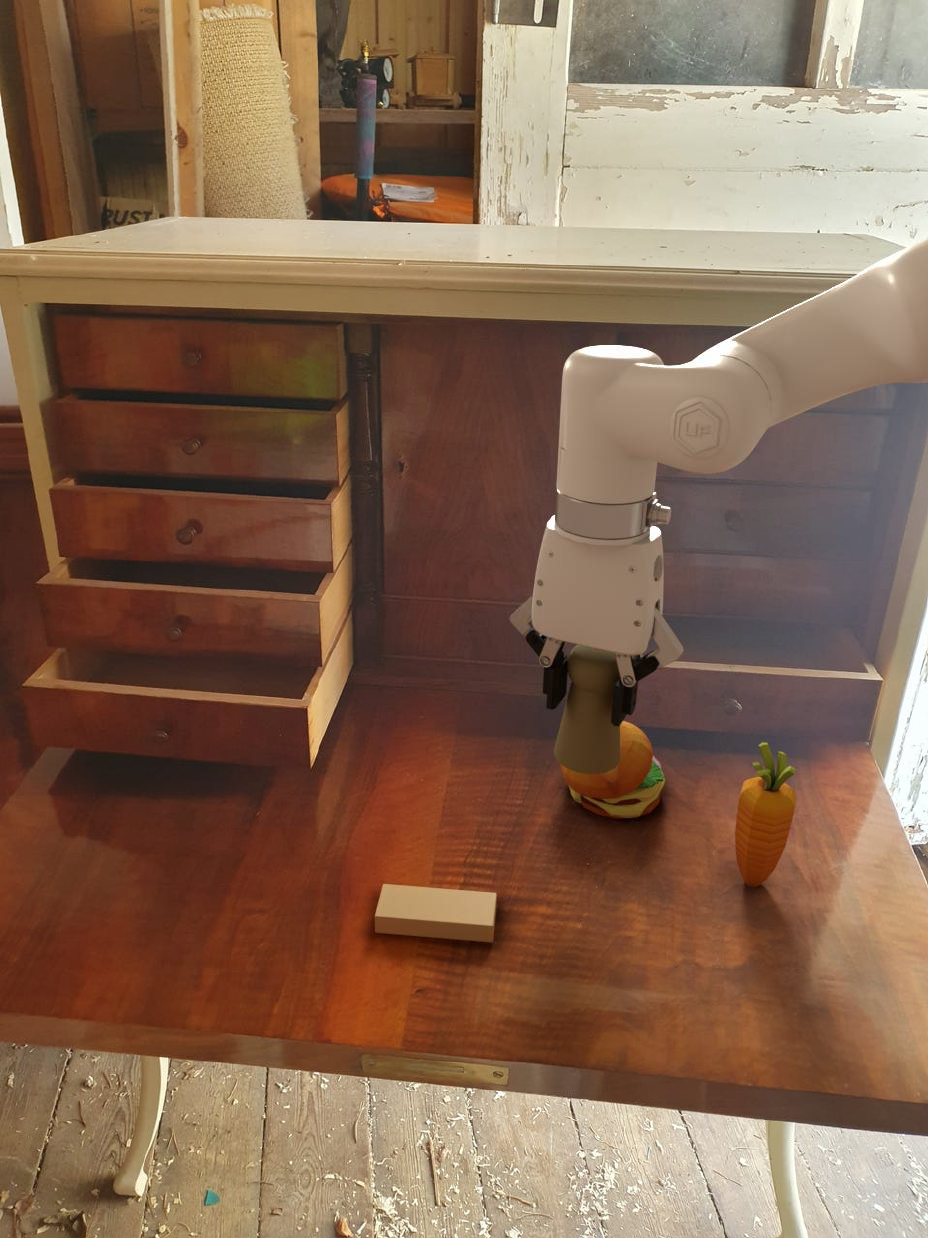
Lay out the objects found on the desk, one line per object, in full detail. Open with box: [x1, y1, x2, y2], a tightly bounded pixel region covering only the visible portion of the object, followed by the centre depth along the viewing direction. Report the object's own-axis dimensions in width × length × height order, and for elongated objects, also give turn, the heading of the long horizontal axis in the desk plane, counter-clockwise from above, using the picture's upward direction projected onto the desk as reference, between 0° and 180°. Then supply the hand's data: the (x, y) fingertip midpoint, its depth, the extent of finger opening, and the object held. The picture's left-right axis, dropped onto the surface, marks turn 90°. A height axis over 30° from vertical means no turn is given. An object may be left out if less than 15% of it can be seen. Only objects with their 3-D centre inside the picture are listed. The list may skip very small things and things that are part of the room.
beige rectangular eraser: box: [374, 883, 498, 943], centre depth 83 cm, size 10×4×2 cm, turn 84°
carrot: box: [734, 742, 797, 888], centre depth 85 cm, size 5×5×15 cm
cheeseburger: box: [560, 720, 666, 820], centre depth 98 cm, size 10×11×10 cm
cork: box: [553, 644, 621, 774], centre depth 85 cm, size 6×6×11 cm
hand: (587, 708), depth 83 cm, fingers closed on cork, 5 cm apart
